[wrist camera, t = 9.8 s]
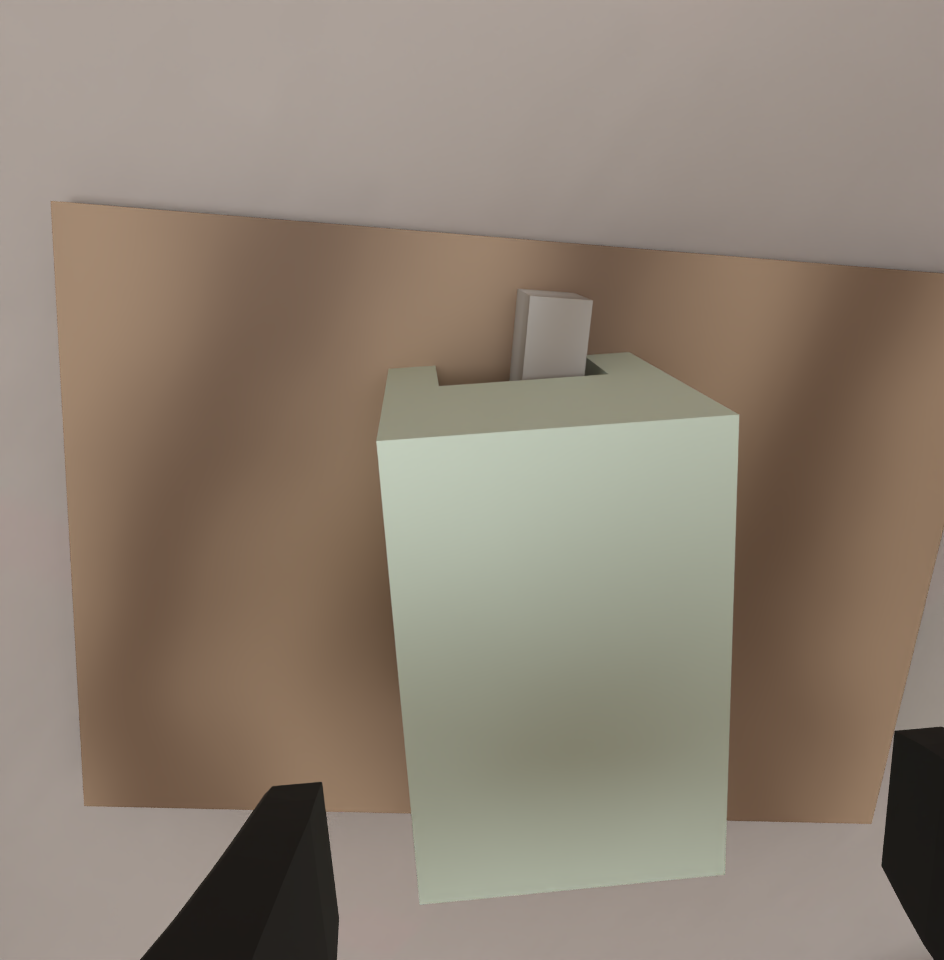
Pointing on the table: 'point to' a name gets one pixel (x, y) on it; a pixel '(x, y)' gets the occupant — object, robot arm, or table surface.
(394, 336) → the cleat board
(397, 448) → the cabinet block
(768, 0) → the table surface
